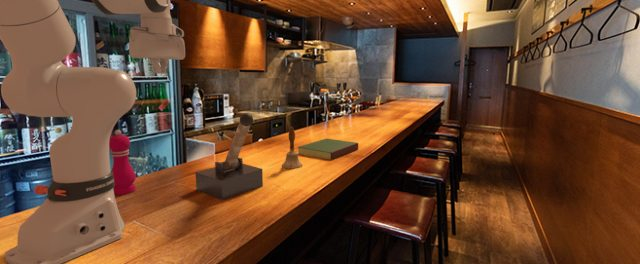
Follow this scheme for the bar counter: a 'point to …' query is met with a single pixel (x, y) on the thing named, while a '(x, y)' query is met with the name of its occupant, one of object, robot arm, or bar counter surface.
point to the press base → (228, 180)
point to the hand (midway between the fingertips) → (160, 73)
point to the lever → (237, 142)
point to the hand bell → (292, 153)
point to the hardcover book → (328, 148)
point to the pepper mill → (121, 164)
